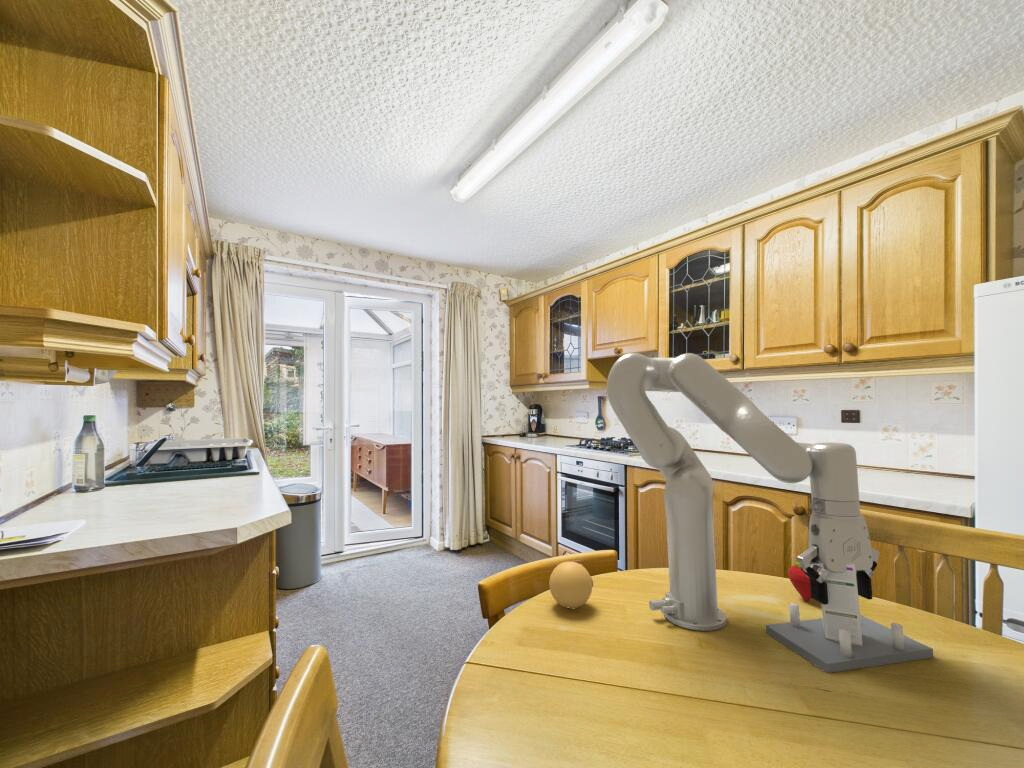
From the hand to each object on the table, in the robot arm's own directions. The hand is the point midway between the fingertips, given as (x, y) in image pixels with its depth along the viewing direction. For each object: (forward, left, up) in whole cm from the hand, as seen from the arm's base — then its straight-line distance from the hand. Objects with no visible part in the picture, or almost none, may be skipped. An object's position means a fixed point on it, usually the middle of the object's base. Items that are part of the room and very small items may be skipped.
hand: (841, 599), depth 84 cm
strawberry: (+9, +18, -8) cm, 22 cm away
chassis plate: (0, 0, -8) cm, 8 cm away
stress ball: (-45, +27, -8) cm, 53 cm away
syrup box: (0, 0, -7) cm, 7 cm away
